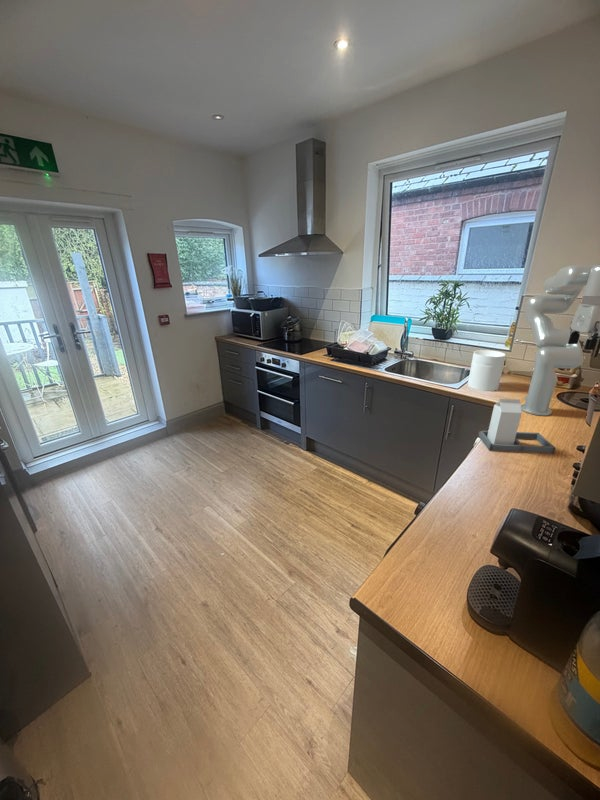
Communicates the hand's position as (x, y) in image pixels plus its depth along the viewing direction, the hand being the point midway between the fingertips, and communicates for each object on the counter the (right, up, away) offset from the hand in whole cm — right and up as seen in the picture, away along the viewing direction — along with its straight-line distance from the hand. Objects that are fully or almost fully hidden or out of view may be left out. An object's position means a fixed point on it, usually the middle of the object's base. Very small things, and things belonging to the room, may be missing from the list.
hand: (580, 346), depth 127 cm
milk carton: (-29, -38, +4) cm, 48 cm away
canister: (-2, -13, +65) cm, 66 cm away
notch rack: (-24, -39, +3) cm, 46 cm away
